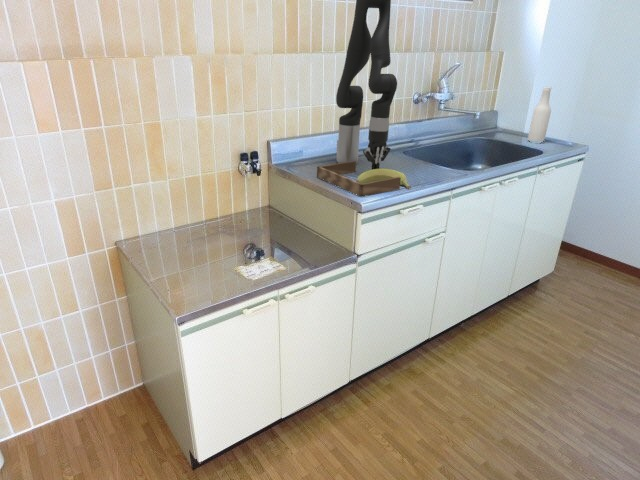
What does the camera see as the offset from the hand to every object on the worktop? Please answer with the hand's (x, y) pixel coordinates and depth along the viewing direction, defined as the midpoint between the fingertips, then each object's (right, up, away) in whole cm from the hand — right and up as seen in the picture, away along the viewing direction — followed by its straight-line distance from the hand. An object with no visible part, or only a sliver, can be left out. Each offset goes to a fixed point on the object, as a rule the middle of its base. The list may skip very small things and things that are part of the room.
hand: (375, 171), depth 183 cm
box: (-8, -5, -5) cm, 10 cm away
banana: (+3, -6, -5) cm, 9 cm away
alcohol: (+101, +28, +78) cm, 131 cm away
